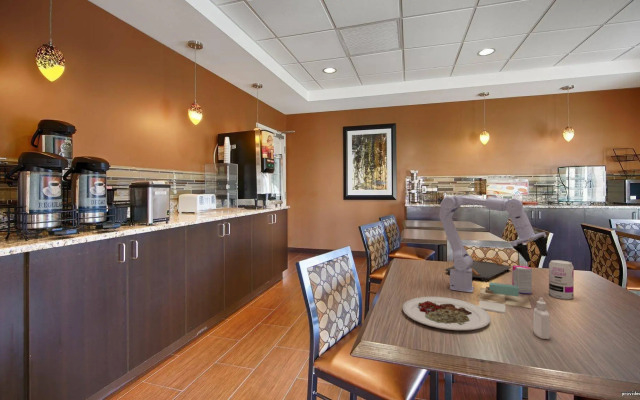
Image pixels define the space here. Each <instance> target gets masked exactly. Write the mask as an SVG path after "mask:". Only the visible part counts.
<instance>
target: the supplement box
mask: <svg viewBox="0 0 640 400" xmlns="http://www.w3.org/2000/svg"><path fill="white" fill-rule="evenodd" d="M511 278H512V280H511V281H512V282H511V285H516V286H518V287H519V295H532V293H533V292H532V290H533V289H532V287H533V285H532V283H533V282H532V281H533V279H532V278H533V270H532V268H530V267H529V266H526V265H512V277H511Z"/></svg>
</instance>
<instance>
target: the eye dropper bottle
mask: <svg viewBox="0 0 640 400" xmlns="http://www.w3.org/2000/svg"><path fill="white" fill-rule="evenodd" d="M532 316H533V318H532V319H533V321H532V323H533V325H532V327H533V328H532V329H533V331H532V332H533V333H534V335H535V336H536V337H538V338H540V339H542V340H550V337H551V335H550V332H551V331H550V327H551V325H550V324H551V323H550V321H551V320H550V314H549V312H548V310H547V302H545V301H544V298H543V297H539V299H538V300H537V301H536V307H534V309H533V315H532Z"/></svg>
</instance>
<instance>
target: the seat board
mask: <svg viewBox="0 0 640 400" xmlns="http://www.w3.org/2000/svg"><path fill="white" fill-rule="evenodd" d="M480 300H481V301H488V302H494V303H501V304H505V306H511V307H518V308H522V309H530V310H531V309H532V305H531V302H530V298H529V297H524V296H519V297H517V296H510V295H503V294H496V293H493V291H489V286H486V287H480V290H479V296H478V302H479V301H480Z"/></svg>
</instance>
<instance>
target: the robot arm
mask: <svg viewBox="0 0 640 400" xmlns="http://www.w3.org/2000/svg"><path fill="white" fill-rule="evenodd" d="M465 205H473V206H483V207H486V209H487V210H491V211H499V212H507V213H509V217H510V219H511V223H512V224H513V227H514V230H515V232H516V234H517V236H518V239H515V240H512V241H510V245H511V247H512V249H514V250H515V251H516V252H517V253H518V254H519V255H520V256H521V257H522V258H523V260H524V261H525V262H526V263H528V262H529V263H530V262H532V260H531V256H530V254H529V252H528V251H529V250H528V245H527V244H525V243H529V242H533V243H534V244H535V246H536V248H537V249H538V250H539V251H538V252H539V253H540V255H541V256H542V257H548V248H547V245H548V237H547V234H546V232H545V231H542V232H538V233H535V231H534V228H533V227H532V224H531V222H530V219H529V218H528V215H527V213H526V210H525V209H524V208H523V207H524V203H523V202H522V201H521V200H520V199H518V198H517V199H516V198H511V199H510V197H508V196H507V197H506V198H505V197H498V195H492V196H488V197H487V198H481V197H475V196H468V195H458V196H457V195H453V196H449V195H448V196H445V197H444V198H442V200H441V202H440V204H439V206H440V208H439V214H438V216H439V220H440V223H441V225H442V228H443V230H444V233H445V235H446V238H447V239H448V242H449V245H450V248H451V250H452V259H453V263H452V264H453V266H454V267H455V269H451V270H450V275H449V290H451V291H459V292H465V293H466V292H467V293H470V294H471V293H472V294H473V292H474V286H473V277H472V269H471V266H472V265H473V258H472V256H471V255H469V253H468V251H467V249H465V247H464V244H463V243H462V239H461V237H460V234H459V233H458V229H457V228H456V224H455V222H454V220H453V216H454V213H455V212H456V211H457V210H459V208H460V207H461V206H465Z"/></svg>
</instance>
